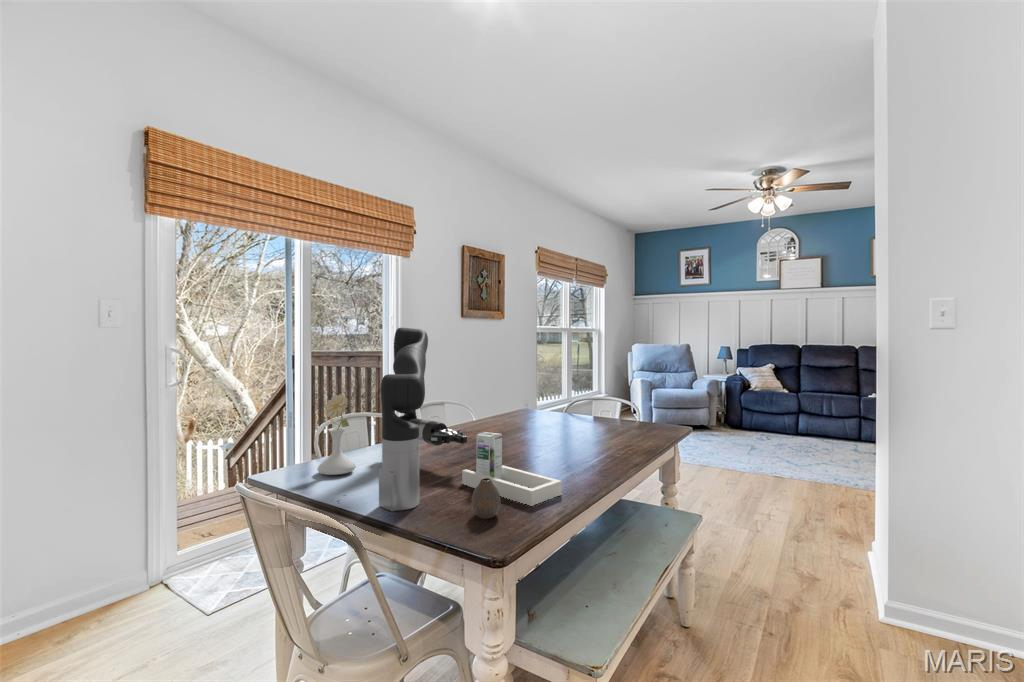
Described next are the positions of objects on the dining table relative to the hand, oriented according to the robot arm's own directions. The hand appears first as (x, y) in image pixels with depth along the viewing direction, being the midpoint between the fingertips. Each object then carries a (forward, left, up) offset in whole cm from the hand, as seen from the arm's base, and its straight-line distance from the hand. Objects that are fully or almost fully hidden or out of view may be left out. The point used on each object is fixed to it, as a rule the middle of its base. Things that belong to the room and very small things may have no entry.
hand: (465, 440), depth 151 cm
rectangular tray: (0, -19, -11) cm, 22 cm away
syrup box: (0, -11, -11) cm, 15 cm away
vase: (-18, -29, -11) cm, 36 cm away
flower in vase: (-26, +30, -11) cm, 41 cm away
